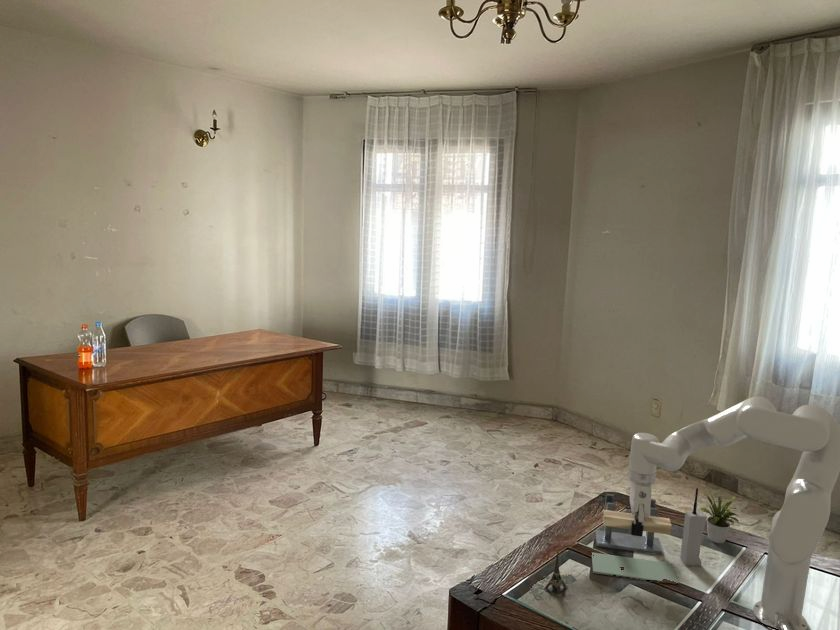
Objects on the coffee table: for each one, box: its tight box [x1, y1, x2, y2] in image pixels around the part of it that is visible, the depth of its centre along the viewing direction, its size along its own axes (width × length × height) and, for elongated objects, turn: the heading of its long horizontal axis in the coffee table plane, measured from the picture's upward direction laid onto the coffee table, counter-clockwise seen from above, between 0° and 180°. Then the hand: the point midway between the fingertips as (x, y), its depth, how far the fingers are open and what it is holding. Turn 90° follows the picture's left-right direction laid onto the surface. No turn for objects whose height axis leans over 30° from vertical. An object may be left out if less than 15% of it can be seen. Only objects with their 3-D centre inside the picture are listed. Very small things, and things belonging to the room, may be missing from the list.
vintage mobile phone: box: [680, 488, 708, 567], centre depth 184 cm, size 4×5×25 cm
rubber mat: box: [591, 551, 679, 584], centre depth 183 cm, size 10×24×1 cm, turn 77°
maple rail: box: [602, 509, 673, 536], centre depth 180 cm, size 4×19×3 cm, turn 77°
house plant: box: [693, 492, 742, 544], centre depth 198 cm, size 14×14×16 cm
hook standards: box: [595, 493, 664, 556], centre depth 195 cm, size 8×20×15 cm, turn 77°
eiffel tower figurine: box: [529, 550, 577, 600], centre depth 172 cm, size 15×10×13 cm
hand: (635, 530), depth 180 cm, fingers closed on maple rail, 4 cm apart
